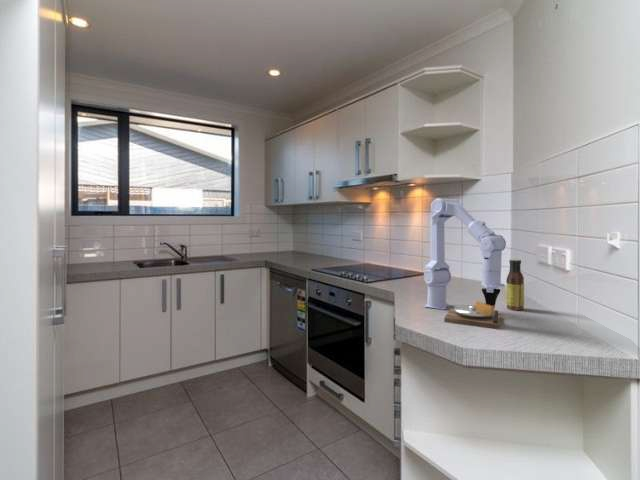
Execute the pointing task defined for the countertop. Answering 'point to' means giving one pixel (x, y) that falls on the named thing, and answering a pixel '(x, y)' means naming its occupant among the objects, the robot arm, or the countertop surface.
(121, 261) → the countertop surface
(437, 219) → the robot arm
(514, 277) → the sauce bottle
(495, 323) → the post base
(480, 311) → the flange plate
